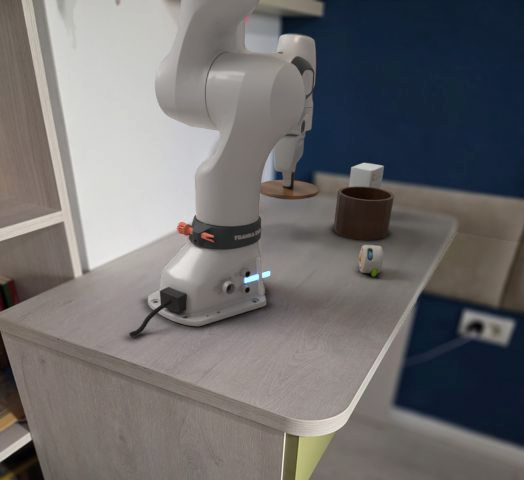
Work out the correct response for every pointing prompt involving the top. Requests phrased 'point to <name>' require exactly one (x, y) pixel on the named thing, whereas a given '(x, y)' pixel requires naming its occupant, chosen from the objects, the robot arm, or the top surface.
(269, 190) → the lid
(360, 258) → the roller toy
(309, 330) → the top surface
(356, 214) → the round wooden container
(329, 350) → the top surface
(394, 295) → the top surface
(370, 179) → the small box
